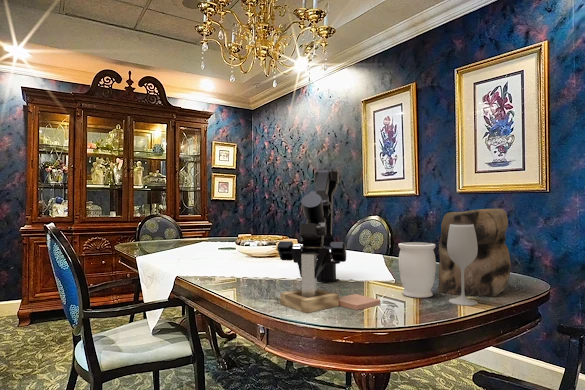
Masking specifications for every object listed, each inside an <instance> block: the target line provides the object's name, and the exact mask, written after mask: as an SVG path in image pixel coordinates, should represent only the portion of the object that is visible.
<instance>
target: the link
mask: <svg viewBox="0 0 585 390" xmlns="http://www.w3.org/2000/svg"><path fill="white" fill-rule="evenodd" d="M301 260H302V277H301V289H302V297H305V298H311V297H316V296H317V289H318V287H317V286H318V285H317V283H318V281H317V278H315V276H314V274H315V268H316V253H303V254H301Z"/></svg>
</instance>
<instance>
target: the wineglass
mask: <svg viewBox="0 0 585 390" xmlns="http://www.w3.org/2000/svg"><path fill="white" fill-rule="evenodd" d="M447 252H448V255H449V257H450V258H451V260H452V261H453V262H454V263H455V264H456V265H458V266H459V267H460V269H461V289H462V292H461V295H459V297H458V298H457V297H455V298H450V299H449V300H448V302H449V304H453V305H457V306H462V307H463V306H467V307H470V306H471V307H472V306H477V305H478V304H479V302H478V301H476V300H475V299H470V298H468V297H467V295H465V293H464V270H465V268H466V267H467V266H468V265H469V264H470V263H472V262H473V261H474V259H475V258H476V256H477V252H478V245H477V238H476V233H475V228H474V225H473V224H450V227H449V232H448V240H447Z"/></svg>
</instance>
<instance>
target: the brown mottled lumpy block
mask: <svg viewBox="0 0 585 390" xmlns="http://www.w3.org/2000/svg"><path fill="white" fill-rule="evenodd" d="M450 224H473V225H474V228H475V233H476V238H477V245H478V252H477V256H476V258H475V259H474V261H473V262H472V263H470V264H469V265H468V266H467V267H466V268H465V270H464V293H465V296H475V297H485V296H486V297H496V296H498V295H499V294H500V293H501V292H503V291H504V289H506V287H507V285H508V283H509V280H510V274H511V267H512V264H511V258H510V257H511V256H510V250H509V247H508V246H507V244H506V242H507V238H506V233H507V229H508V225H509V220H508V214H507V212H506V211H505V209H503V208H482V209H471V210H470V209H469V210H466V211H451V212H447V213H445V214H444V216H443V218H442V221H441V226H440V228H441V229H440V230H441V232H440V234H441V236H440V238H439V242H438V244H439V245H438V254H439V264H438V287H437V290H436V292H437V293H441V294H446V295H455V296H461V292H462V289H461V269H460V267H459V266H458V265H456V264H455V263H454V262H453V261H452V260H451V258H450V257H449V255H448V252H447V240H448V232H449V227H450Z"/></svg>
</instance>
